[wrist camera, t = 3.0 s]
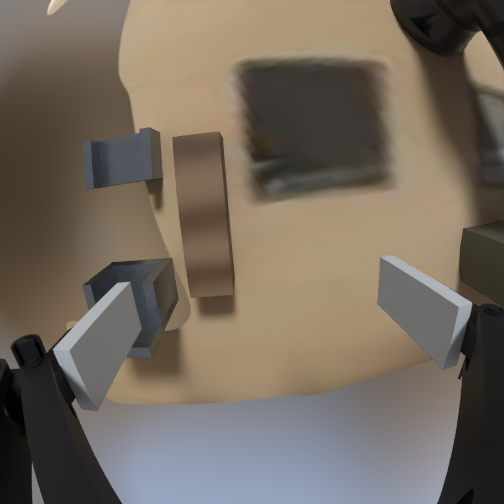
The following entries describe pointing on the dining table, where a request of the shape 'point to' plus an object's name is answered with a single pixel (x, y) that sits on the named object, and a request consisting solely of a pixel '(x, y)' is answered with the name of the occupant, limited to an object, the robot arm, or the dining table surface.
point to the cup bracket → (140, 297)
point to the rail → (204, 213)
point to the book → (484, 260)
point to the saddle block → (123, 159)
